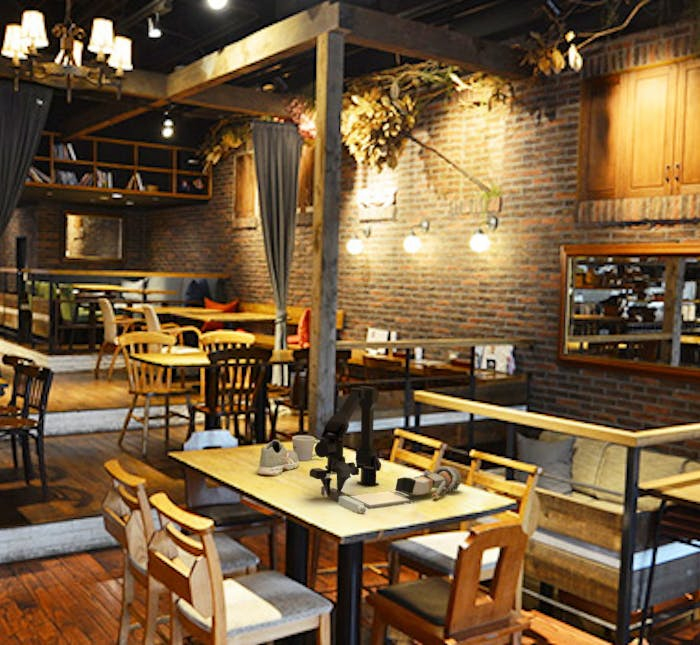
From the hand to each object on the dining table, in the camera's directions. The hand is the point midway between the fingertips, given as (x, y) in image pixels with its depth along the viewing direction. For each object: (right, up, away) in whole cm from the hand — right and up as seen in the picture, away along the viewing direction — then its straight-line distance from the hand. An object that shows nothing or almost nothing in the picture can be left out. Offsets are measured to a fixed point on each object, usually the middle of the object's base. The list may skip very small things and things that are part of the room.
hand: (333, 494), depth 303 cm
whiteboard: (+17, -2, -1) cm, 18 cm away
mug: (-13, +2, +63) cm, 65 cm away
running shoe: (-24, +1, +42) cm, 48 cm away
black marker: (0, -1, -1) cm, 2 cm away
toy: (+37, -3, +10) cm, 39 cm away
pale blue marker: (+7, -2, -14) cm, 16 cm away
